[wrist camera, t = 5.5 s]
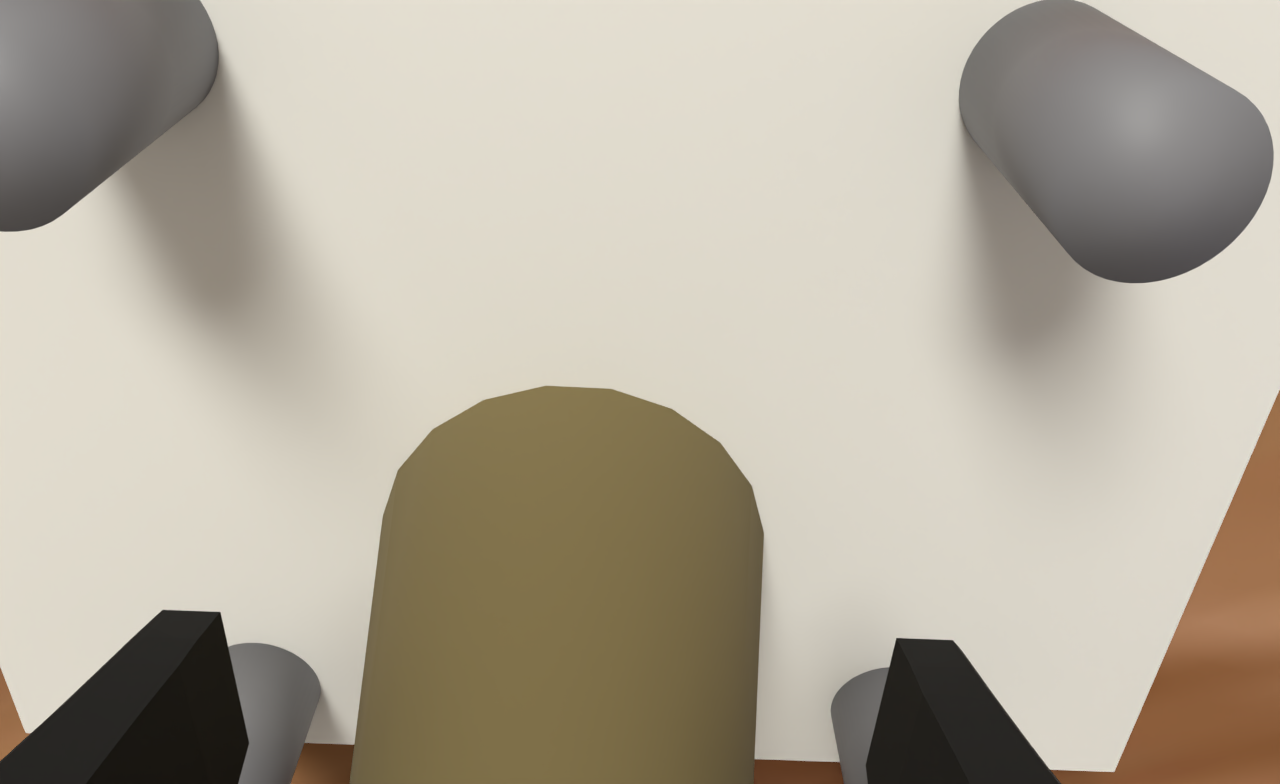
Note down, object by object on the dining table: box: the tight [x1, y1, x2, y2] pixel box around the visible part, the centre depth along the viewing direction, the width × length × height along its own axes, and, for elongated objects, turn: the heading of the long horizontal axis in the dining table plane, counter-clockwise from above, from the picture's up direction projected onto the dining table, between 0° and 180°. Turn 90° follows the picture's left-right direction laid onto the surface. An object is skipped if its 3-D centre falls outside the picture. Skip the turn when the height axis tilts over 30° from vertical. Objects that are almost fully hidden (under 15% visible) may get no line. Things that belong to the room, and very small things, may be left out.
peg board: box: [0, 0, 1280, 784], centre depth 15 cm, size 20×14×5 cm
